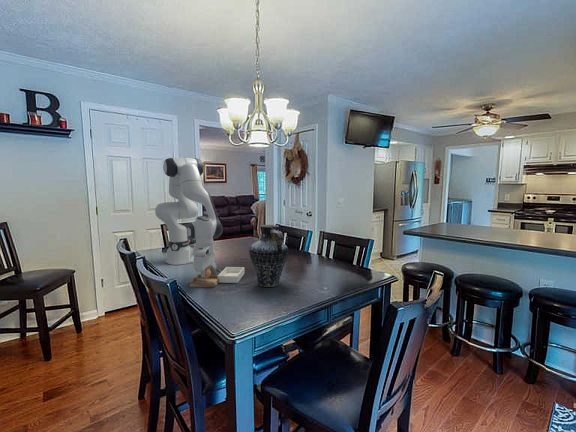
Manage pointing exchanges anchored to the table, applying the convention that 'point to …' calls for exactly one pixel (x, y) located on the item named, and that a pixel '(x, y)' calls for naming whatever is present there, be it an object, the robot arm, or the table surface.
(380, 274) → the table surface
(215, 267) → the ceramic mug
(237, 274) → the white storage bin
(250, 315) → the table surface
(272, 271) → the jug
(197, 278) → the tray
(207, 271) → the ball
